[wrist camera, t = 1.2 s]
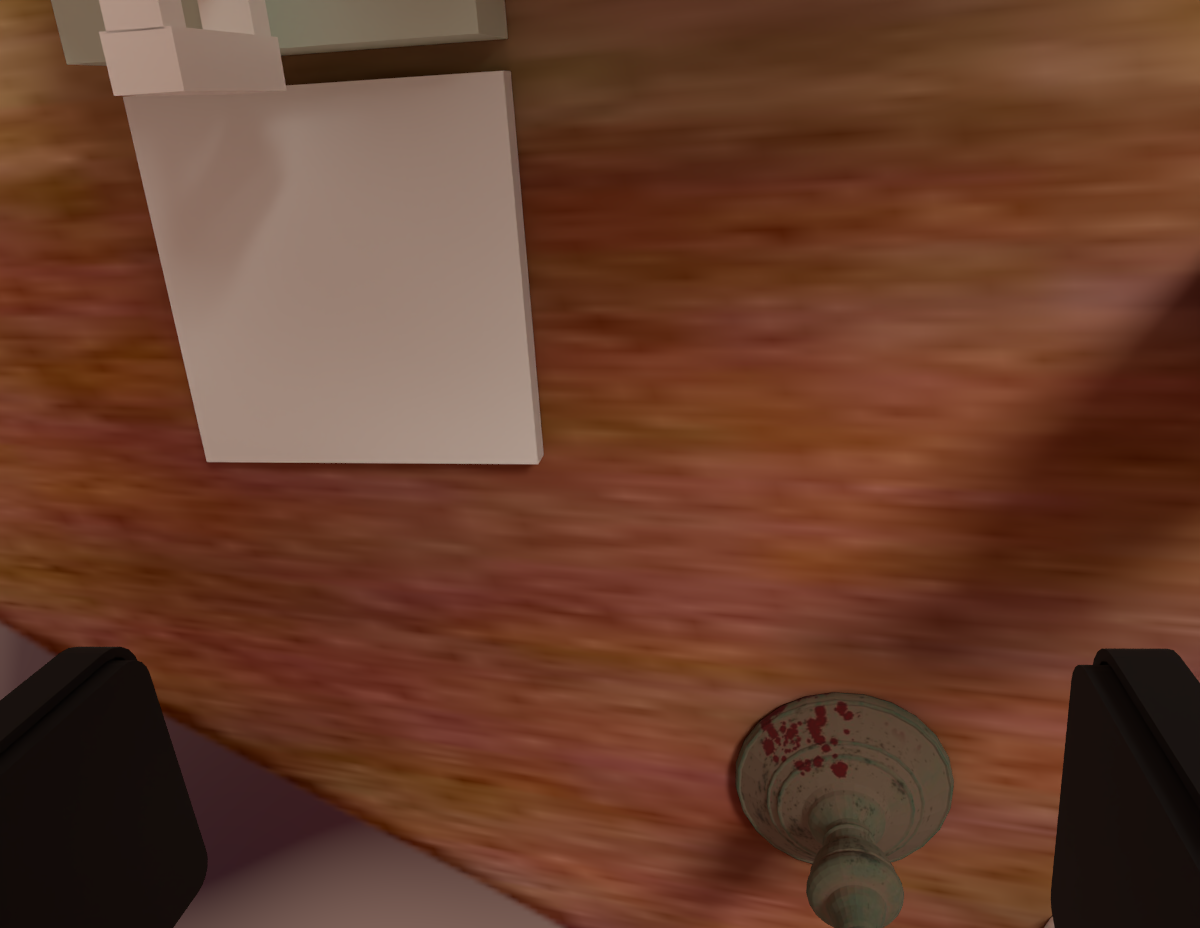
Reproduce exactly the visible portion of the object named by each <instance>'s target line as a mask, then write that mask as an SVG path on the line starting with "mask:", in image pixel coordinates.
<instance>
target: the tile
mask: <svg viewBox="0 0 1200 928" xmlns="http://www.w3.org/2000/svg"><path fill="white" fill-rule="evenodd" d="M123 100H124V104H125V109H126V113H127V117H128V122H129V126H130V131H131V135H132V139H133V144H134V148H135V152H136V157H137V161H138V165H139V170H140V174H141V178H142V183H143V187H144V191H145V196H146V200H147V204H148V209H149V213H150V217H151V222H152V226H153V230H154V235H155V239H156V243H157V248H158V252H159V256H160V261H161V265H162V269H163V274H164V278H165V282H166V287H167V291H168V295H169V300H170V304H171V309H172V313H173V317H174V322H175V326H176V330H177V335H178V339H179V343H180V348H181V352H182V356H183V361H184V365H185V369H186V374H187V378H188V382H189V387H190V391H191V395H192V400H193V404H194V408H195V413H196V417H197V421H198V426H199V430H200V434H201V439H202V443H203V447H204V452H205V456H206V460H207V462H272V463H426V464H539V462H540V460H541V459H542V457H543V455H544V452H543V441H542V429H541V418H540V406H539V394H538V383H537V371H536V359H535V348H534V336H533V324H532V313H531V301H530V290H529V278H528V266H527V255H526V243H525V231H524V220H523V208H522V196H521V185H520V173H519V162H518V150H517V138H516V127H515V115H514V103H513V92H512V80H511V71H491V72H476V73H462V74H447V75H433V76H418V77H403V78H389V79H374V80H360V81H345V82H330V83H316V84H301V85H287V86H286V91H272V92H257V93H242V94H227V95H149V96H126V97H123Z"/></svg>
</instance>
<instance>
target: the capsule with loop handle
mask: <svg viewBox="0 0 1200 928" xmlns="http://www.w3.org/2000/svg"><path fill="white" fill-rule="evenodd" d="M197 2H198V7H199V12H200V17H201V22H202V27H203V29H196V28H186V23H185V18H184V13H183V8H182V3H181V0H99V3H100V7H101V12H102V16H103V20H104V25H105V29H106V31H103V32H99V34H100V39H101V43H102V47H103V52H104V56H105V60H106V64H107V69H108V73H109V77H110V82H111V86H112V90H113V94H114V96H149V95H227V94H242V93H257V92H272V91H286V84H285V78H284V72H283V66H282V60H281V55H280V49H279V43H278V37H273V36H271V32H270V26H269V20H268V15H267V9H266V3H265V0H197Z"/></svg>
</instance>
